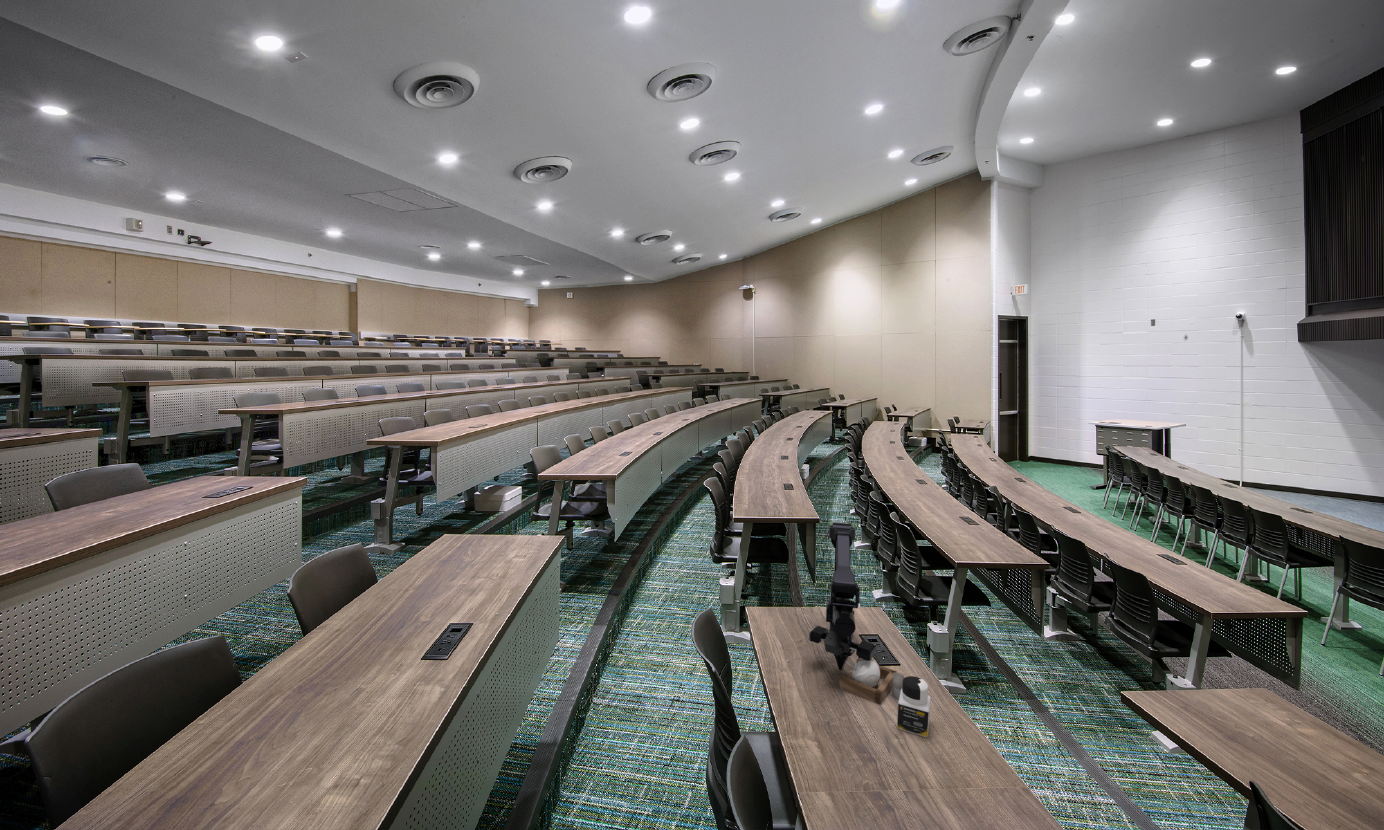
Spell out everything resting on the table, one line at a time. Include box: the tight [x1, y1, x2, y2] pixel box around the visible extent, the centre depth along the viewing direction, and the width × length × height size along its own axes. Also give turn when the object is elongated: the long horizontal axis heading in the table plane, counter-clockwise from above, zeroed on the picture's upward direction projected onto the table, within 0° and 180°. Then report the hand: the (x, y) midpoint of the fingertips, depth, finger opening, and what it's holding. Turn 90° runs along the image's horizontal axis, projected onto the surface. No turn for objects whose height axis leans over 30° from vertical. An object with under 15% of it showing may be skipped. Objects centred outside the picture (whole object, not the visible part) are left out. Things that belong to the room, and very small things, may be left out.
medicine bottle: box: [896, 675, 932, 738], centre depth 135 cm, size 7×7×12 cm
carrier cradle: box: [839, 658, 905, 705], centre depth 151 cm, size 14×16×6 cm
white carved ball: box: [852, 658, 881, 688], centre depth 152 cm, size 8×8×8 cm
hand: (840, 669), depth 158 cm, fingers closed
